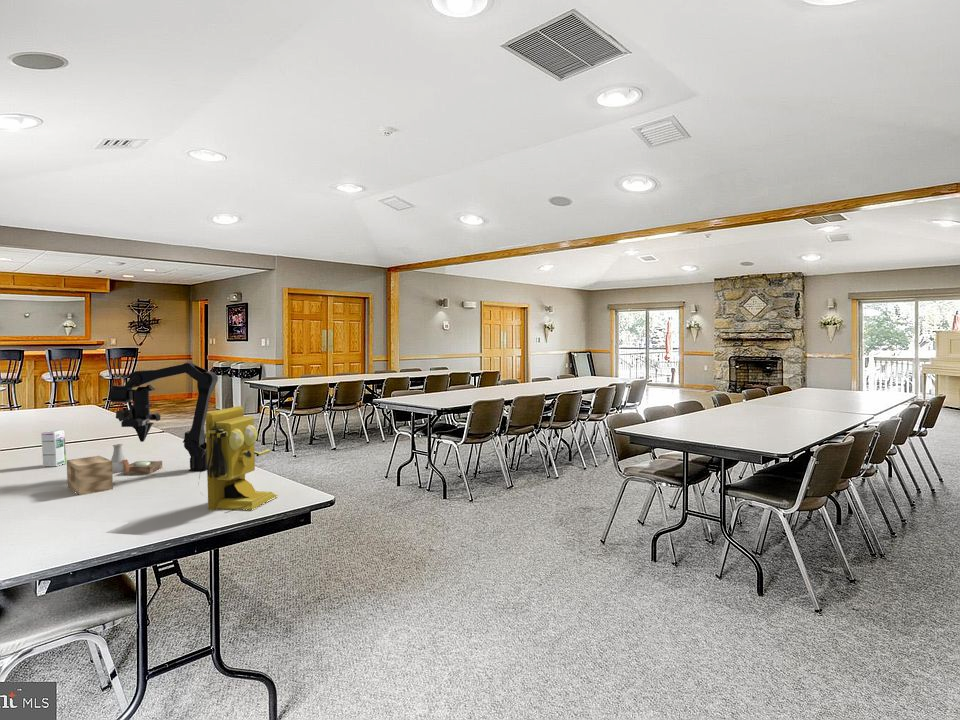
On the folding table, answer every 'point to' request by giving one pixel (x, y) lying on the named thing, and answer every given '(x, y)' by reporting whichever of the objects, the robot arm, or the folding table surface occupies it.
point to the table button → (142, 463)
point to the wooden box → (89, 474)
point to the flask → (117, 453)
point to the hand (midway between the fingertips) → (142, 441)
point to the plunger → (120, 467)
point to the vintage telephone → (231, 460)
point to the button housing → (144, 467)
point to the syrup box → (53, 448)
